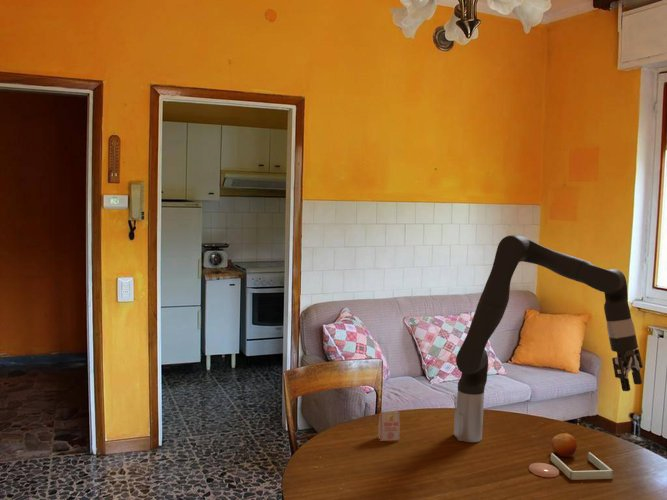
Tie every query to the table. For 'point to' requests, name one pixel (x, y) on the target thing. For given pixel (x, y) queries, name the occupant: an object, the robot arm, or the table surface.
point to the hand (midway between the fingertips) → (632, 387)
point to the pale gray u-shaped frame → (579, 475)
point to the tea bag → (389, 426)
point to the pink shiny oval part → (544, 470)
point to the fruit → (564, 445)
